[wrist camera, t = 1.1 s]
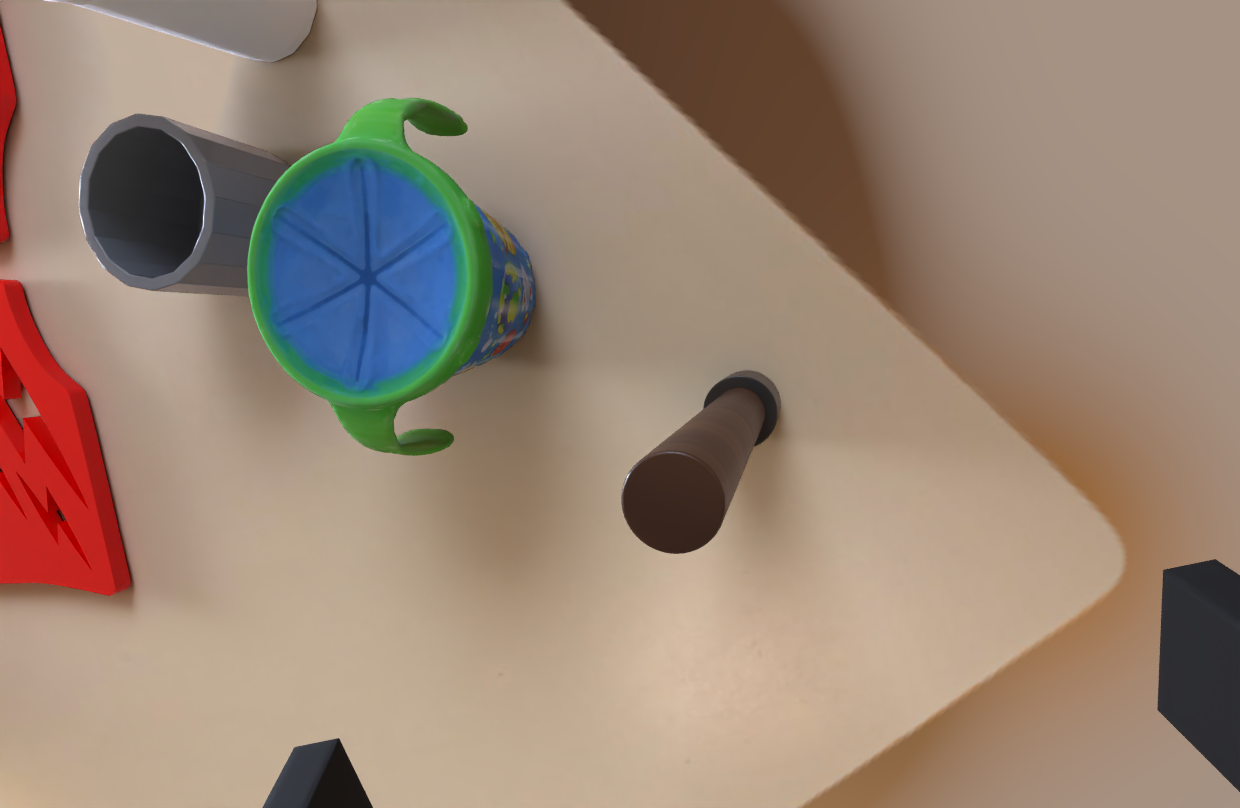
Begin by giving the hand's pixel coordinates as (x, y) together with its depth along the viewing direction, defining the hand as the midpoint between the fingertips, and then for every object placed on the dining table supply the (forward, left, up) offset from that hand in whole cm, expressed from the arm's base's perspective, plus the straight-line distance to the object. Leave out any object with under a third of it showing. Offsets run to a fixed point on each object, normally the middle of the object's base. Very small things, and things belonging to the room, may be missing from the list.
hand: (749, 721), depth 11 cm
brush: (-1, -3, -23) cm, 23 cm away
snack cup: (+2, -18, -23) cm, 30 cm away
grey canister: (+6, -32, -23) cm, 40 cm away
